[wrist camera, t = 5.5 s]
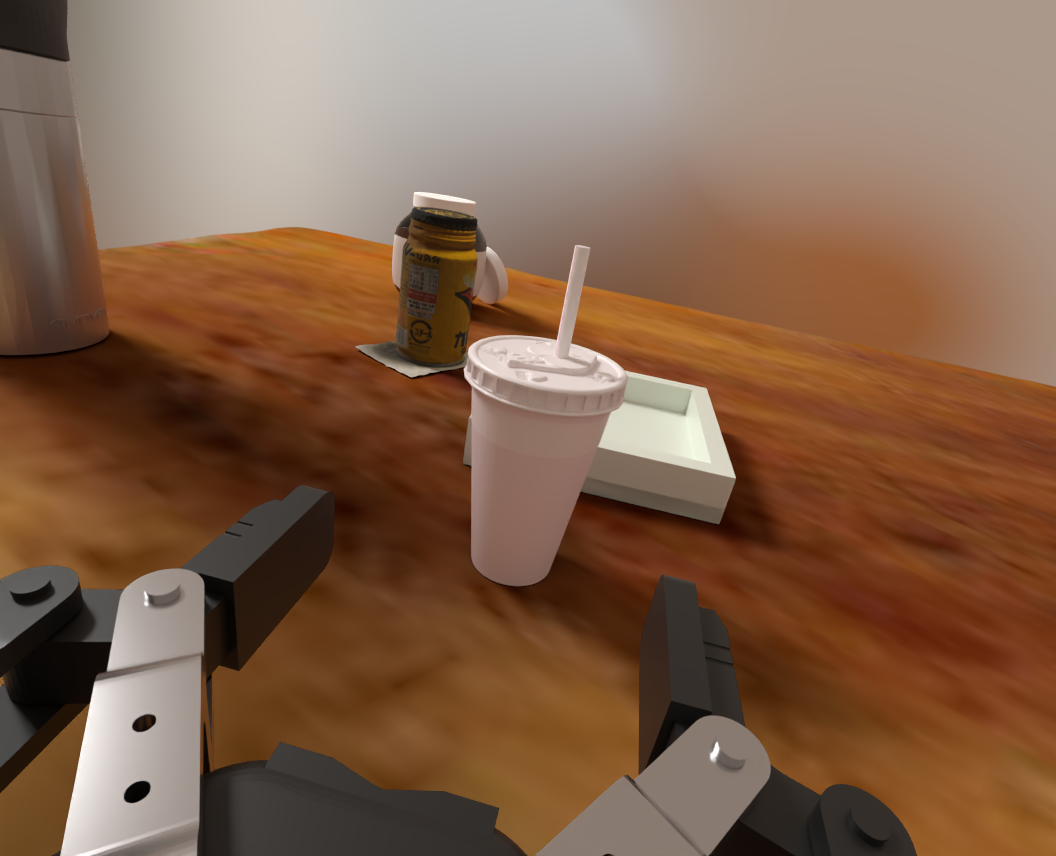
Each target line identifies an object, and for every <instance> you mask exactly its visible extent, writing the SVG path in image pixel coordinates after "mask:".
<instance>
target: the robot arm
mask: <svg viewBox="0 0 1056 856" xmlns="http://www.w3.org/2000/svg"><path fill="white" fill-rule="evenodd" d="M66 33H67V0H0V355H31V354H45V353H55V352H62V351H68V350H74V349H78V348H82V347H86V346H89V345H92V344H95V343H98V342H100V341H101V340H103V339H105V338H106V337H107V336H108V335H109V324H108V317H107V311H106V304H105V297H104V290H103V283H102V275H101V268H100V261H99V254H98V248H97V241H96V234H95V228H94V220H93V214H92V208H91V200H90V193H89V186H88V180H87V173H86V166H85V159H84V152H83V145H82V139H81V132H80V126H79V119H78V118H77V117H78V113H77V106H76V100H75V93H74V86H73V79H72V72H71V65H70V64H69V63H68V62H66V61H69V60H70V59H69V52H68V44H67V34H66ZM334 504H335V499H334V495H333V493H332V492H329V491H325V490H321V489H317V488H313V487H309V486H305V485H300V486H298V487H297V488H296V489H295V490H293V491H292V492H291V493H290V494H289V495H288V496H287V497H285V498H284V499H283V500H282V501H280V500H276V499H274V500H272V501H269V502H267V503H264V504H262V505H260V506H257V507H255V508H253V509H252V510H250V511H249V512H248V513H247V514H246V515H244V516H243V517H242V518H241V519H240V520H238V523H237V524H236V523H235V524H233V525H232V526H231V527H230V528H229V529H227V530H226V532H225V534H221V535H220V536H219V537H218V538H216V539H215V540H214V541H213V542H212V543H210V544H209V545H208V546H207V547H206V548H204V549H203V550H202V551H201V552H199V553H198V554H197V555H196V556H195V557H193V558H192V559H191V560H190V561H189V562H187V563H186V564H185V565H184V566H182V567H181V568H180V569H165V570H160V571H156V572H152V573H149V574H147V575H144V576H142V577H140V578H138V579H137V580H135V581H133V582H132V583H131V584H130V585H128V586H127V587H126V588H125V589H123V590H111V589H81V588H80V583H79V578H78V576H77V574H76V573H75V572H74V571H73V570H71V569H69V568H66V567H61V566H40V567H34V568H29V569H25V570H22V571H19V572H16V573H14V574H11V575H9V576H7V577H5V578H3V579H1V580H0V678H1V677H3V680H4V684H3V685H2V686H1V687H0V793H1V792H2V791H3V790H4V789H5V788H6V787H7V786H8V785H9V784H10V783H11V782H12V781H13V780H14V779H15V778H16V777H17V776H18V775H19V774H20V773H21V772H22V771H23V770H24V769H25V768H26V767H27V765H28V764H29V763H30V762H31V761H32V760H33V759H34V758H35V757H36V756H37V755H38V754H39V753H40V752H41V751H42V750H43V749H44V748H45V747H46V746H47V745H48V744H49V743H50V742H51V741H52V740H53V739H54V738H55V737H56V736H57V735H58V734H59V733H60V732H61V731H62V730H63V729H64V728H65V727H66V726H67V725H68V724H69V723H70V722H71V721H72V720H73V719H74V718H75V717H76V716H77V715H78V714H79V713H80V712H81V711H82V710H83V709H84V708H85V707H86V706H87V705H88V704H89V703H90V707H89V713H88V718H87V723H86V728H85V733H84V738H83V743H82V748H81V753H80V758H79V763H78V769H77V774H76V779H75V784H74V789H73V794H72V799H71V804H70V809H69V814H68V819H67V825H66V830H65V835H64V840H63V845H62V850H61V851H59V852H58V853H56V854H54V855H52V856H527V855H526V854H525V853H524V852H523V850H522V849H521V848H520V847H519V846H518V845H517V844H516V843H514V842H513V841H512V840H511V839H510V838H509V837H507V836H506V835H505V834H503V833H502V832H500V831H499V830H497V829H496V828H495V824H496V819H497V815H498V811H499V808H497V807H494V806H490V805H487V804H484V803H481V802H477V801H474V800H471V799H467V798H464V797H461V796H457V795H454V794H451V793H447V792H444V791H415V790H386V789H381V788H378V787H377V786H375V785H373V784H372V783H370V782H369V781H367V780H366V779H364V778H363V777H361V776H360V775H358V774H357V773H355V772H354V771H352V770H350V769H349V768H347V767H346V766H344V765H343V764H341V763H340V762H338V761H337V760H335V759H334V758H332V757H328V756H325V755H322V754H319V753H315V752H312V751H309V750H305V749H302V748H299V747H295V746H292V745H289V744H285V743H282V742H280V743H279V745H278V747H277V748H276V750H275V751H274V753H273V754H272V756H271V757H270V759H269V760H258V761H247V762H242V763H237V764H233V765H229V766H226V767H223V768H219V769H216V770H214V710H213V676H212V673H213V671H214V670H215V669H216V668H217V667H218V666H219V665H220V666H223V667H227V668H230V669H234V670H237V671H239V670H240V669H241V668H242V667H243V666H244V664H245V663H246V662H247V661H248V660H249V658H250V657H251V656H252V655H253V654H254V652H255V651H256V650H257V649H258V648H259V647H260V645H261V644H262V643H263V642H264V641H265V639H266V638H267V637H268V636H269V635H270V633H271V632H272V631H273V630H274V629H275V627H276V626H277V625H278V624H279V623H280V621H281V620H282V619H283V618H284V617H285V615H286V614H287V613H288V612H289V611H290V609H291V608H292V607H293V606H294V605H295V603H296V602H297V601H298V600H299V599H300V597H301V596H302V595H303V594H304V593H305V591H306V590H307V589H308V588H309V587H310V585H311V584H312V583H313V582H314V581H315V579H316V578H317V577H318V576H319V575H320V573H321V572H322V571H323V570H324V568H325V567H326V565H327V563H328V561H329V559H330V556H331V553H332V550H333V540H334ZM535 856H917V854H916V851H915V848H914V845H913V843H912V840H911V838H910V836H909V834H908V832H907V830H906V829H905V827H904V826H903V824H902V823H901V822H900V820H899V819H898V818H897V817H896V815H895V814H894V813H893V812H892V811H891V810H890V809H889V808H888V807H887V806H886V805H885V804H883V803H882V802H881V801H880V800H878V799H877V798H875V797H874V796H872V795H871V794H869V793H867V792H866V791H864V790H862V789H859V788H857V787H854V786H850V785H844V784H837V785H832V786H830V787H828V788H827V789H826V790H825V791H824V792H823V794H822V795H819V794H817V793H816V792H814V791H812V790H810V789H809V788H807V787H805V786H803V785H802V784H800V783H798V782H796V781H795V780H793V779H791V778H789V777H788V776H786V775H784V774H783V773H781V772H780V771H778V770H777V769H776V768H774V767H773V766H772V765H771V764H770V760H769V757H768V755H767V752H766V750H765V749H764V747H763V745H762V744H761V742H760V741H759V740H758V739H757V738H756V737H755V735H754V734H752V733H751V732H750V731H749V730H748V729H747V728H746V727H745V723H744V718H743V712H742V707H741V702H740V697H739V691H738V686H737V681H736V675H735V670H734V668H733V660H732V654H731V652H730V644H729V638H728V633H727V629H726V627H725V626H724V624H723V623H722V621H721V620H720V618H719V617H718V615H717V614H716V612H715V611H714V610H710V609H706V608H702V607H699V606H698V598H697V591H696V585H695V583H694V582H691V581H687V580H683V579H679V578H675V577H671V576H667V575H661V577H660V579H659V582H658V585H657V588H656V591H655V594H654V597H653V600H652V603H651V606H650V609H649V612H648V615H647V618H646V621H645V624H644V628H643V632H642V637H641V643H640V671H639V776H638V777H637V778H635V779H634V780H632V779H631V778H630V777H629V776H628V775H625V776H623V777H621V778H620V779H618V780H617V781H616V782H615V783H613V784H612V785H611V786H610V787H609V788H608V789H607V790H606V791H605V792H604V793H603V794H601V795H600V796H599V797H598V798H597V799H596V800H595V801H594V802H593V803H592V804H591V805H589V806H588V807H587V808H586V809H585V810H584V811H583V812H582V813H581V814H580V815H579V816H578V817H576V818H575V819H574V820H573V821H572V822H571V823H570V824H569V825H568V826H567V827H566V828H564V829H563V830H562V831H561V832H560V833H559V834H558V835H557V836H556V837H555V838H554V839H552V840H551V841H550V842H549V843H548V844H547V845H546V846H545V847H544V848H543V849H542V850H540V851H539V852H538V853H537V854H536V855H535Z"/></svg>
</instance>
